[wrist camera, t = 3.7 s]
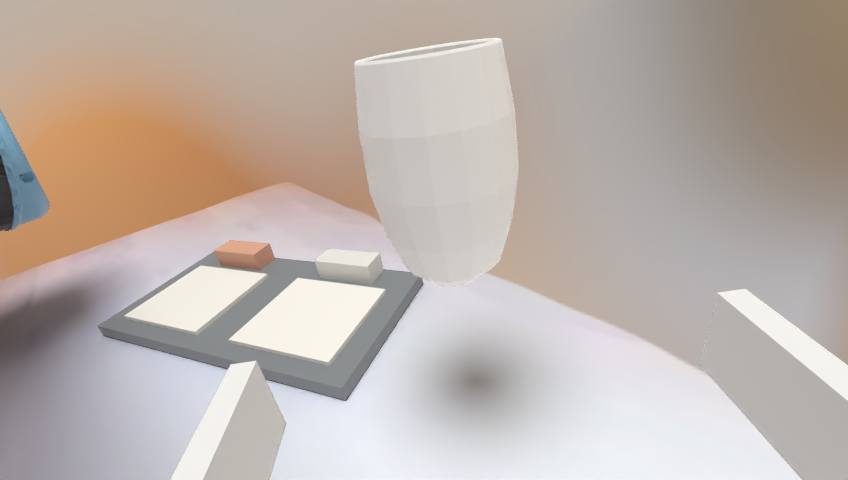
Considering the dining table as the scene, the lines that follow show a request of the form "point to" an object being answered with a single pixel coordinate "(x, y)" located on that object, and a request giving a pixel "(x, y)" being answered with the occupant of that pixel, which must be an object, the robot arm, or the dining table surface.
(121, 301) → the dining table surface
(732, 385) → the robot arm
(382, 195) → the cup
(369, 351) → the coaster board
